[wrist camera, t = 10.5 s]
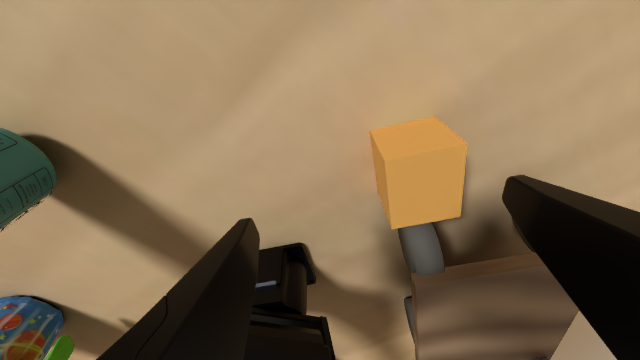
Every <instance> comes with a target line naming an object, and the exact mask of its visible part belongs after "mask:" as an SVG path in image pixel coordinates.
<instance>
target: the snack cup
mask: <svg viewBox="0 0 640 360" xmlns="http://www.w3.org/2000/svg"><path fill="white" fill-rule="evenodd" d="M63 324H64V319H63V316H62V312H61V311H60V310H57V309H56V308H54V307H52V306H51V305H49V304H47V303H45V302H42V301H39V300H36V299H32V298H31V297H18V296H11V297H4V298H0V360H43V359H44V358H45V356H46V354H47V353H48V351H49V350H50V348H51V346H52V345H53V343H54V341H55V340H56V338H57V336H58V335H59V332H60V331H61V329H62V327H63ZM73 349H74V341H73V339H72V338H70V337H69V336H67V335H62V336H60V337H59V338H58V340H57V341H56V342H55V344H54V347H53V349H52V350H51V351H50V353H49V354H48V355H47V357H46V358H45V359H44V360H68V358H69V357H70V355H71V354H72V351H73Z"/></svg>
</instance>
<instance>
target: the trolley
mask: <svg viewBox="0 0 640 360" xmlns="http://www.w3.org/2000/svg"><path fill="white" fill-rule="evenodd" d="M559 187H560V186H559ZM562 188H563V187H562ZM514 223H515V221H514ZM515 226H516V228H517V231H518V233H519V235H520V237H521V238H522V240H523V241H524V243H525V244H526V245H527V246H528V248H529V249H530V250H531V251H532V252H534V253H528V254H522V255H516V256H510V257H504V258H498V259H492V260H486V261H480V262H474V263H468V264H462V265H456V266H450V267H444V262H443V256H442V251H441V247H440V243H439V240H438V237H437V234H436V232H435V229H434V227H433V225H432V223H431V222H429V223H424V224H419V225H413V226H408V227H402V228H398V233H399V238H400V243H401V247H402V251H403V254H404V258H405V261H406V264H407V267H408V269H409V272H410V274H411V287H412V298H407V299H404V304H405V310H406V315H407V319H408V323H409V327H410V331H411V334H412V337H413V341H414V344H415V356H416V360H550V359H551V357H552V355H553V354H554V352H555V350H556V348H557V347H558V345H559V343H560V341H561V340H562V338H563V337H564V335H565V333H566V331H567V330H568V328H569V326H570V325H571V323H572V321H573V320H574V318H575V316H576V314H577V313H578V311H579V309H578V308H577V306H576V305H575V304H574V302H573V301H572V300H571V298H570V297H569V296H568V294H567V293H566V292H565V291H564V289H563V288H562V287H561V285H560V284H559V283H558V281H557V280H556V279H555V277H554V276H553V275H552V273H551V272H550V271H549V270H548V268H547V267H546V266H545V264H544V263H543V262H542V260H541V259H540V258H539V256H538V255H537V254H536V252H535V251H534V250H533V249H532V247H531V246H530V245H529V243H528V242H527V240H526V239H525V237H524V236H523V234H522V233H521V231H520V229H519V228H518V226H517V224H516V223H515Z"/></svg>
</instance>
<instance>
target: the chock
mask: <svg viewBox="0 0 640 360" xmlns="http://www.w3.org/2000/svg"><path fill="white" fill-rule="evenodd" d="M370 137H371V145H372V152H373V160H374V168H375V176H376V183H377V191H378V194H379V197H380V199H381V202H382V205H383V207H384V210H385V213H386V215H387V218H388V221H389V224H390V226H391V229H397V228H402V227H408V226H413V225H419V224H424V223H429V222H435V221H440V220H446V219H451V218H457V217H460V216H461V206H462V195H463V185H464V175H465V164H466V154H467V143H466V142H465V141H464V140H463V139H461V138H460V137H459V136H458V135H457V134H455V133H454V132H453V131H452V130H451V129H449V128H448V127H447V126H446V125H445V124H443V123H442V122H441V121H440V120H439V119H437V118H436V117H435V116H433V117H429V118H424V119H420V120H416V121H411V122H407V123H402V124H398V125H393V126H389V127H384V128H380V129H375V130H371V131H370Z"/></svg>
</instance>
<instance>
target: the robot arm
mask: <svg viewBox="0 0 640 360" xmlns="http://www.w3.org/2000/svg"><path fill="white" fill-rule="evenodd" d="M502 200H503V203H504V204H505V206H506V208H507V209H508V211H509V213H510V214H511V216H512V218H513V219H514V221H515V223H516V224H517V226H518V228H519V229H520V231H521V233H522V234H523V236H524V237H525V239H526V240H527V242H528V243H529V245H530V246H531V247H532V249H533V250H534V251H535V252H536V254H537V255H538V256H539V258H540V259H541V260H542V262H543V263H544V264H545V266H546V267H547V268H548V270H549V271H550V272H551V273H552V275H553V276H554V277H555V279H556V280H557V281H558V283H559V284H560V285H561V287H562V288H563V289H564V291H565V292H566V293H567V294H568V296H569V297H570V298H571V300H572V301H573V302H574V304H575V305H576V306H577V308H578V309H579V310H580V312H581V313H582V314H583V315H584V317H585V318H586V319H587V321H588V322H589V323H590V325H591V326H592V327H593V329H594V330H595V331H596V332H597V334H598V335H599V336H600V338H601V339H602V340H603V341H604V343H605V344H606V346H607V347H608V348H609V350H610V351H611V352H612V354H613V355H614V356H615V357H616V359H617V360H640V212H637V211H634V210H631V209H628V208H625V207H622V206H619V205H616V204H612V203H609V202H606V201H603V200H600V199H597V198H594V197H590V196H587V195H584V194H581V193H578V192H575V191H572V190H568V189H565V188H562V187H559V186H556V185H553V184H550V183H547V182H543V181H540V180H537V179H534V178H531V177H528V176H525V175H517V176H511V177H508V178H507V180H506V183H505V187H504V191H503V194H502ZM259 243H260V236H259V233H258V230H257V228H256V226H255V223H254V221H253V219H252V218H245V219H240V220H239V221H238V222H237V223H236V224H235V225H234V226H233V227H232V228H231V229H230V230H229V231H228V232H227V233H226V234H225V235H224V236H223V237H222V238H221V239H220V240H219V241H218V242H217V243H216V244H215V245H214V246H213V247H212V248H211V249H210V250H209V251H208V252H207V253H206V254H205V255H204V256H203V257H202V258H201V259H200V260H199V261H198V262H197V263H196V264H195V265H194V266H193V267H192V268H191V269H190V270H189V271H188V272H187V273H186V274H185V275H184V276H183V278H182V279H181V280H180V281H179V282H178V283H177V284H176V285H175V286H174V287H173V288H172V289H171V290H170V291H169V292H168V293H167V294H166V296H164V297H163V298H162V299H161V300H160V301H159V302H158V303H157V304H156V305H155V306H154V307H153V308H152V309H151V310H150V311H149V312H148V313H147V314H146V315H144V316H143V317H142V318H141V319H140V320H139V321H138V322H137V323H136V324H135V325H134V326H133V327H132V328H131V329H130V330H129V331H127V332H126V333H125V334H124V335H123V336H122V337H121V338H120V339H119V340H118V341H117V342H115V343H114V344H113V345H112V346H111V347H110V348H109V349H108V350H106V351H105V352H104V353H103V354H102V355H101V356H100V357H99V358H98V359H96V360H335V355H334V350H333V346H332V341H331V336H330V332H329V327H328V322H327V318H326V317H323V316H320V317H316V316H309V315H306V310H307V285H311V284H314V283H316V277H315V274H314V272H313V269H312V266H311V264H310V261H309V259H308V256H307V254H306V251H305V248H304V246H303V244H301V243H294V244H289V245H284V246H279V247H273V248H268V249H263V250H259Z"/></svg>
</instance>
